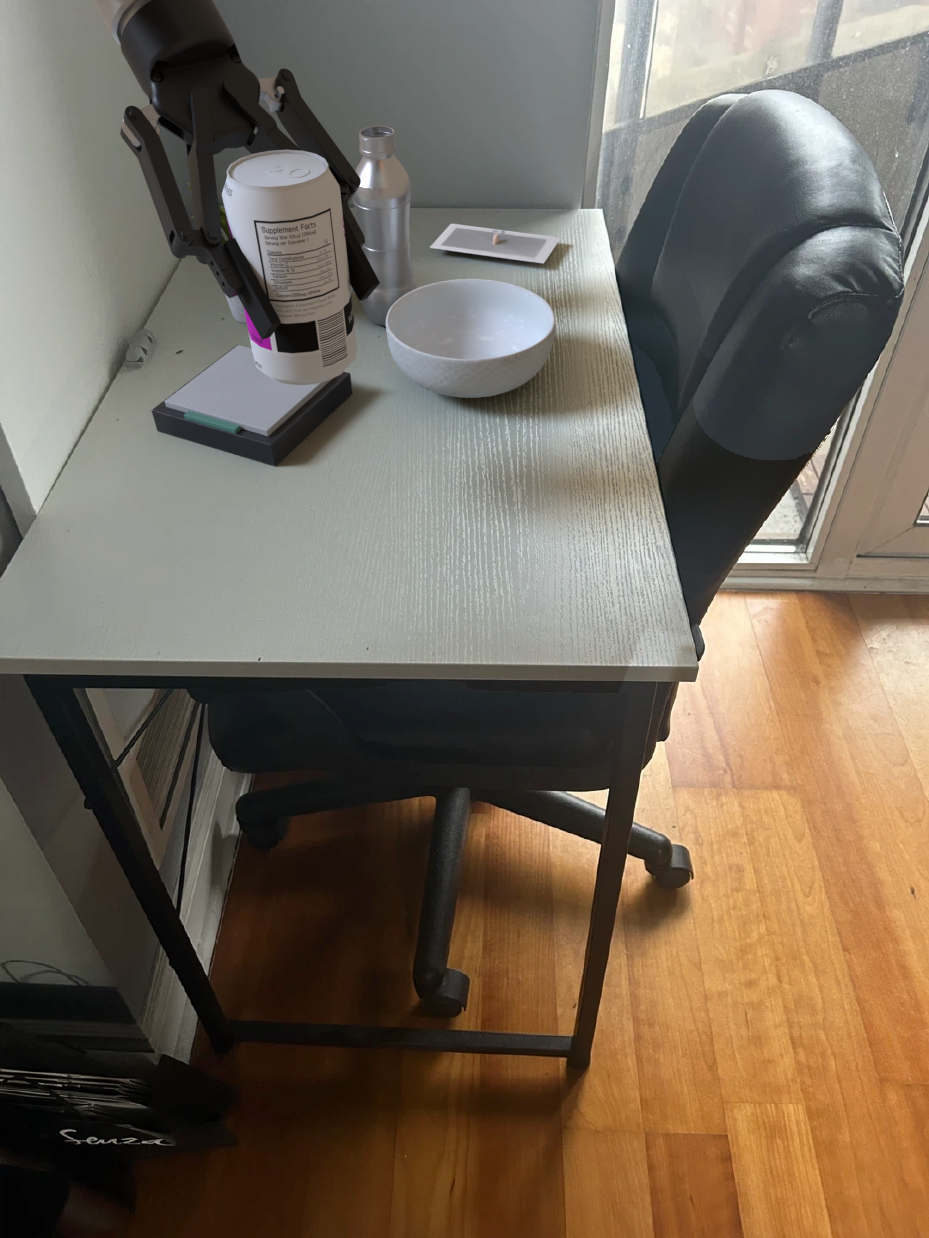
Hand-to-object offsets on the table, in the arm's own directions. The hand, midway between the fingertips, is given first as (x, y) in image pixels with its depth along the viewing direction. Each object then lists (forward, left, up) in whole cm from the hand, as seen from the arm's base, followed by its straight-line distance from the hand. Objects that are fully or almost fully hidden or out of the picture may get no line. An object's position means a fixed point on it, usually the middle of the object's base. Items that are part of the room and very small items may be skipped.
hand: (321, 310), depth 70 cm
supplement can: (0, +3, -6) cm, 7 cm away
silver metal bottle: (+25, +25, -19) cm, 40 cm away
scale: (+3, +19, -19) cm, 27 cm away
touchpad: (+46, +30, -19) cm, 58 cm away
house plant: (+13, +37, -19) cm, 44 cm away
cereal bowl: (+23, +9, -19) cm, 31 cm away
